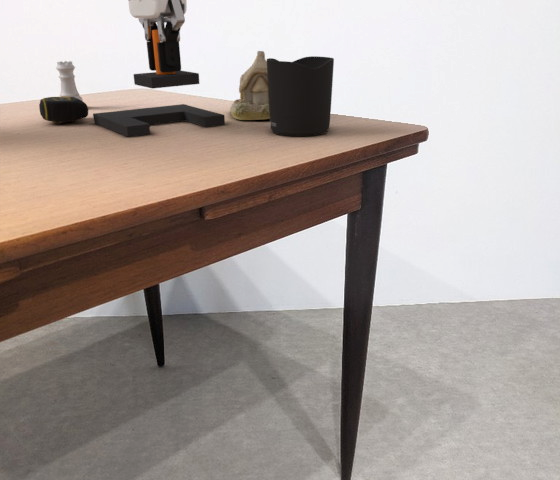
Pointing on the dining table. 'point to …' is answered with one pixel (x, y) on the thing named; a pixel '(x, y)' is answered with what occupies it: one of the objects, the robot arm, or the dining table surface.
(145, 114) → the black u-shaped block
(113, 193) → the dining table surface
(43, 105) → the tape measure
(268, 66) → the pen holder
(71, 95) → the rook chess piece
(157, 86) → the orange peg with base
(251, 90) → the ceramic model
